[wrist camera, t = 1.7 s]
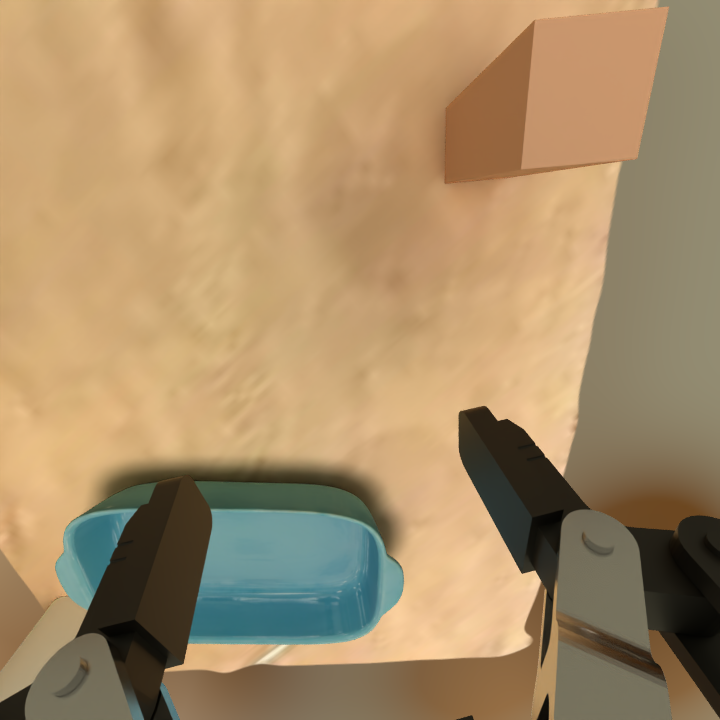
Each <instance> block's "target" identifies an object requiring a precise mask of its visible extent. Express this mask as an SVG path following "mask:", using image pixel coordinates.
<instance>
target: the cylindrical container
mask: <svg viewBox="0 0 720 720" xmlns="http://www.w3.org/2000/svg"><path fill="white" fill-rule="evenodd" d="M87 611H88V610H86V609H84V608H82V607H81V606H79V605H77V604H76V603H75V602H74V601H73V600H72V599H71V598H70V597H69V596H65V597H60V598H58V599H56V600H54V601H53V602H52V604H51V605H50V606H49V608H48V609H47V610H46V612H45V613H44V614H43V616H42V617H41V618H40V620H39V621H38V622H37V624H36V625H35V626H34V628H33V629H32V630H31V632H30V633H29V634H28V636H27V637H26V638H25V640H24V641H23V642H22V644H21V645H20V647H19V648H18V649H17V650H16V652H15V653H14V654H13V656H12V657H11V658H10V660H9V661H8V662H7V664H6V665H5V666H4V668H3V669H2V670H1V672H0V702H1V701H3V700H5V699H7V698H8V697H10V696H12V695H13V694H15V693H17V692H19V691H20V690H22V689H24V688H25V687H27V686H29V685H30V684H32V683H33V682H34V680H35V678H36V676H37V675H38V673H39V672H40V670H41V669H42V668H43V666H44V665H45V664H46V663H47V662H48V660H49V659H50V658H51V657H52V656H53V655H54V654H55V653H56V652H57V651H58V650H60V649H61V648H62V647H63V646H64V645H66V644H67V643H69V642H70V641H72V640H73V639H75V637H76V635H77V633H78V631H79V629H80V626H81V624H82V622H83V620H84V617H85V615H86V613H87Z"/></svg>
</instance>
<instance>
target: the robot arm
mask: <svg viewBox="0 0 720 720" xmlns="http://www.w3.org/2000/svg"><path fill="white" fill-rule="evenodd" d="M459 453H460V457H461V460H462V463H463V465H464V467H465V469H466V471H467V473H468V475H469V477H470V479H471V480H472V482H473V484H474V486H475V488H476V490H477V492H478V493H479V495H480V497H481V499H482V501H483V503H484V505H485V506H486V508H487V510H488V512H489V514H490V516H491V518H492V519H493V521H494V523H495V525H496V527H497V529H498V531H499V532H500V534H501V536H502V538H503V540H504V542H505V544H506V545H507V547H508V549H509V551H510V553H511V555H512V557H513V558H514V560H515V562H516V564H517V566H518V568H519V570H520V571H521V573H522V574H523V573H527V572H530V571H534V570H535V571H536V573H537V574H538V576H539V578H540V579H541V581H542V583H543V585H544V586H545V595H544V606H543V617H542V629H541V639H540V651H539V662H538V671H537V679H536V685H535V691H534V698H533V706H532V715H531V720H672V716H671V709H670V701H669V694H668V688H667V683H666V680H665V676H664V673H663V671H662V669H661V667H660V666H659V665H658V664H657V663H655V662H654V660H653V658H652V655H651V650H650V644H649V634H648V629H649V630H656V631H659V632H660V634H661V635H662V637H663V638H664V639H665V641H666V642H667V644H668V645H669V647H670V648H671V649H672V651H673V652H674V654H675V655H676V656H677V658H678V659H679V661H680V662H681V664H682V665H683V667H684V668H685V669H686V671H687V672H688V673H689V675H690V677H691V678H692V679H693V681H694V682H695V684H696V685H697V687H698V688H699V689H700V691H701V692H702V694H703V695H704V697H705V698H706V699H707V701H708V702H709V704H710V705H711V707H712V708H713V709H714V711H715V712H716V714H717V715H718V716H719V718H720V519H717V518H713V517H708V516H690V517H687V518H685V519H683V520H682V521H681V522H680V523H679V525H678V527H677V529H676V530H675V531H672V530H659V529H646V528H634V527H627V526H624V525H622V524H621V523H620V522H618V521H617V520H616V519H614V518H612V517H610V516H608V515H606V514H604V513H601V512H598V511H594V510H591V509H590V508H589V507H588V506H587V505H586V504H585V503H584V502H583V501H582V500H581V499H580V497H579V496H578V495H577V494H576V492H575V491H574V490H573V489H572V488H571V486H570V485H569V484H568V483H567V481H566V480H565V479H564V478H563V477H562V475H561V474H560V473H559V472H558V471H557V469H556V468H555V467H554V466H553V464H552V463H551V462H550V461H549V460H548V458H545V455H544V453H543V452H542V451H541V450H540V449H539V447H538V446H536V445H535V443H534V441H533V440H532V439H531V438H530V436H529V435H528V434H527V433H526V432H525V430H524V429H522V428H521V427H519V426H518V425H516V424H514V423H513V422H511V421H510V420H508V419H505V420H500V421H497V420H496V418H495V417H494V416H493V414H492V413H491V412H490V410H489V409H488V408H487V407H486V406H481V407H477V408H473V409H468V410H464V411H460V412H459ZM211 531H212V513H211V509H210V507H209V505H208V503H207V502H206V500H205V499H204V497H203V495H202V494H201V492H200V490H199V489H198V487H197V485H196V484H195V482H194V480H193V479H192V477H191V476H189V475H184V476H180V477H176V478H171V479H167V480H163V481H160V482H158V483H157V484H156V486H155V488H154V490H153V493H152V495H151V498H150V500H149V503H148V504H144V505H141V506H140V507H139V508H138V510H137V511H136V512H135V513H134V514H133V516H132V517H131V518H130V519H129V521H128V522H127V523H126V525H125V527H124V529H123V532H122V534H121V536H120V538H119V541H118V543H117V545H118V546H117V548H115V550H114V552H113V554H112V556H111V559H110V565H107V568H106V570H105V572H104V574H103V577H102V579H101V581H100V583H99V586H98V588H97V590H96V593H95V595H94V597H93V599H92V602H91V604H90V606H89V608H88V611H87V613H86V615H85V617H84V620H83V622H82V624H81V626H80V629H79V631H78V633H77V635H76V637H75V639H73V640H72V641H70V642H69V643H67V644H66V645H64V646H63V647H62V648H61V649H60V650H58V651H57V652H56V653H55V654H54V655H53V656H52V657H51V658H50V659H49V660H48V662H47V663H46V664H45V665H44V666H43V668H42V669H41V670H40V672H39V673H38V675H37V676H36V678H35V680H34V682H33V683H32V684H30V685H29V686H27V687H25V688H24V689H22V690H20V691H19V692H17V693H15V694H13V695H12V696H10V697H8V698H7V699H5V700H3V701H1V702H0V720H180V719H179V716H178V714H177V712H176V709H175V707H174V705H173V702H172V700H171V698H170V695H169V693H168V691H167V688H166V687H165V685H164V684H163V683H162V678H163V674H164V670H165V669H166V668H170V667H174V666H178V665H182V664H184V659H185V654H186V650H187V645H188V640H189V635H190V631H191V626H192V621H193V616H194V612H195V607H196V602H197V597H198V593H199V588H200V583H201V578H202V574H203V569H204V564H205V560H206V555H207V550H208V545H209V541H210V536H211ZM457 720H474V719H473V716H468V717H464V718H461V719H457Z"/></svg>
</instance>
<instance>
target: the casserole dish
mask: <svg viewBox="0 0 720 720" xmlns="http://www.w3.org/2000/svg"><path fill="white" fill-rule="evenodd" d="M194 482H195V484H196V485H197V487H198V489H199V490H200V492H201V494H202V495H203V497H204V499H205V500H206V502H207V503H208V505H209V507H210V509H211V513H212V531H211V536H210V541H209V545H208V550H207V555H206V560H205V564H204V569H203V574H202V578H201V583H200V588H199V593H198V597H197V602H196V607H195V612H194V616H193V621H192V626H191V631H190V635H189V640H188V644H285V645H288V644H330V643H340V642H346V641H351V640H355V639H357V638H360V637H362V636H364V635H366V634H368V633H369V632H370V631H372V630H373V629H374V627H375V626H376V625H377V623H378V622H379V620H380V618H381V616H382V615H383V614H385V613H386V612H387V611H388V610H390V609H391V608H392V607H393V606H394V605H395V604H396V603H397V602H398V601H399V599H400V597H401V595H402V591H403V585H404V575H403V570H402V567H401V566H400V564H399V563H398V562H397V561H396V560H395V559H394V558H392V557H391V556H389V555H388V554H387V553H386V549H385V545H384V542H383V540H382V537H381V535H380V532H379V530H378V527H377V525H376V523H375V521H374V519H373V516H372V515H371V513H370V511H369V510H368V508H367V507H366V505H365V504H364V503H363V502H362V501H361V500H360V499H359V498H358V497H356V496H355V495H353V494H352V493H350V492H347V491H345V490H342V489H339V488H334V487H329V486H324V485H314V484H297V483H254V482H218V481H194ZM157 483H158V482H155V483H147V484H141V485H136V486H133V487H130V488H127V489H125V490H123V491H121V492H119V493H116V494H114V495H113V496H111V497H109V498H107V499H106V500H104V501H102V502H101V503H99V504H98V505H96V506H95V507H93V508H91V509H90V510H88V511H87V512H85V513H84V514H82V515H80V516H79V517H77V518H76V519H74V520H73V521H72V522H71V523H70V524H69V525H68V526H67V527H66V529H65V532H64V537H63V544H64V553H63V554H62V555H61V556H60V557H59V559H58V560H57V562H56V566H55V569H56V573H57V576H58V579H59V581H60V583H61V585H62V587H63V588H64V590H65V592H66V593H67V594H68V596H69V597H70V598H71V599H72V600H73V601H74V602H75V603H76V604H77V605H79V606H81V607H82V608H84V609H86V610H88V608H89V606H90V604H91V602H92V599H93V597H94V595H95V593H96V590H97V588H98V586H99V583H100V581H101V579H102V577H103V574H104V572H105V570H106V568H107V565H110V559H111V556H112V554H113V552H114V550H115V548H117V546H118V545H117V543H118V541H119V538H120V536H121V534H122V532H123V529H124V527H125V525H126V523H127V522H128V521H129V519H130V518H131V517H132V516H133V514H134V513H135V512H136V511H137V510H138V508H139V507H140V506H141V505H144V504H148V503H149V500H150V498H151V495H152V493H153V490H154V488H155V486H156V484H157Z"/></svg>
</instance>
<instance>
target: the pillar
mask: <svg viewBox="0 0 720 720" xmlns="http://www.w3.org/2000/svg"><path fill="white" fill-rule="evenodd" d="M668 9H669V7H660V8H650V9H640V10H630V11H620V12H609V13H599V14H589V15H579V16H569V17H559V18H548V19H538V20H534V21H533V22H532V23H531V24H530V25H529V26H528V27H527V28H526V29H525V30H524V31H523V32H522V33H521V34H520V35H519V36H518V37H517V38H516V39H515V40H514V41H513V42H512V43H511V44H510V45H509V46H508V47H507V48H506V49H505V50H504V51H503V52H502V53H501V54H500V55H499V56H498V57H497V58H496V59H495V60H494V61H493V62H492V63H491V64H490V65H489V66H488V67H487V68H486V69H485V70H484V71H483V72H482V73H481V74H480V75H479V76H478V77H477V78H476V79H475V80H474V81H473V82H472V83H471V84H470V85H469V86H468V87H467V88H466V89H465V90H464V91H463V92H462V93H461V94H460V95H459V96H458V97H457V98H456V99H455V100H454V101H453V102H452V103H451V104H450V105H449V106H448V107H447V108H446V141H445V183H456V182H467V181H478V180H489V179H500V178H510V177H517V176H523V175H530V174H537V173H544V172H551V171H558V170H564V169H571V168H578V167H585V166H592V165H599V164H606V163H612V162H619V161H626V160H633V159H637V156H638V151H639V146H640V141H641V137H642V132H643V128H644V123H645V118H646V113H647V108H648V104H649V99H650V95H651V90H652V85H653V80H654V75H655V71H656V66H657V61H658V57H659V52H660V47H661V42H662V38H663V33H664V28H665V23H666V18H667V14H668Z"/></svg>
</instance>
